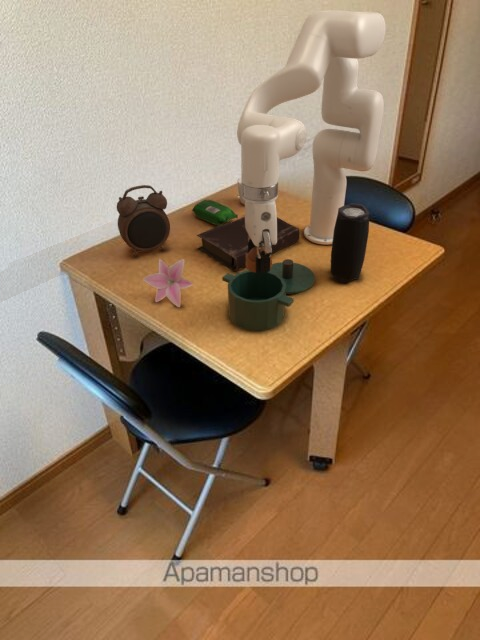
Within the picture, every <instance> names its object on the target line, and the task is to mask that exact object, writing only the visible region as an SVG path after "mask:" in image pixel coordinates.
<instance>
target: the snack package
mask: <svg viewBox="0 0 480 640" xmlns="http://www.w3.org/2000/svg"><path fill="white" fill-rule="evenodd" d="M191 211H192V212H193V214H194V215H195V216H196V217H197V218H198V219H201V220H203V221H206V222H208V223H210V224H212V225H215V226H216V227H218V226H221V225H224V224H227V223H229V222H231V220H234V219H239V217H238V216H239V215H238V214H236V213H235V211H234V210H233V209H232V208H231V207H229V206H227V205H225V204H222V203H220V202H218V201H215V200H213V199H208V198H207V199H204V200H202V201H199V202H198V203H196V204H194V206H193V208H192V209H191Z"/></svg>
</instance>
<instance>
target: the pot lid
mask: <svg viewBox="0 0 480 640" xmlns="http://www.w3.org/2000/svg"><path fill="white" fill-rule="evenodd" d="M270 272H273V273H276V274H278V275H279V276H280V277H281V278H283V279H284V281H285V284H286V295H287V294H288V295H291V294H292V295H293V294H294V295H295V294H299V293H303V292H305V291H307V290H309V289H310V288H312V287H313V285H314V284H315V281H316V277H315V276H316V275H315V273H314V272H313V270H312V269H310V268H309V267H308V266H306V265H303V264H300V263H298V262H294V260H293V259H290V258H289V259H287V258H286V259H284V260H282V261H280V262H275V263H272V267H271V269H270Z"/></svg>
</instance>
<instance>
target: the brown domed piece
mask: <svg viewBox="0 0 480 640" xmlns="http://www.w3.org/2000/svg"><path fill="white" fill-rule="evenodd" d="M263 250H264V247H260V251H263ZM272 255H273V254H271V257H270V269H271V267H272V264H273V256H272ZM256 257H257V247H254V248H252V249H251V250H250V252H249V253H248V254H247V255H246V267H245V268H246V269H247V270H249V271H251V272H255V273H256Z"/></svg>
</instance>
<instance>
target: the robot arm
mask: <svg viewBox="0 0 480 640" xmlns="http://www.w3.org/2000/svg"><path fill="white" fill-rule="evenodd" d="M386 28H387V26H386V20H385V18H384V16H383V15H382V14H381V13H380V12H376V11H359V10H358V11H356V10H344V9H327V10H317V11H314V12H311V13H310V14H309V15H308V16H307V17H306V19H304V22H303V24H302V26H301V28H300V31H299V33H298V35H297V37H296V40H295V42H294V44H293V47H292V49H291V51H290V53H289V56H288V58H287V61H286V63H285V65H284V67H283V68H282V69H280V70H278V71H276V72H275V73H274V74H272V75H271V76H269V77H268V78H266V79H265V80H264V81H263V82H262V83H260V84H259V85H258V86H257V87H256V88H255V89H254V90H253V91H252V93H251V94H250V95H249V97H248V99H247V101H246V104H245V106H244V108H243V110H242V112H241V115H240V118H239V121H238V124H237V129H236V136H237V137H236V138H237V141H238V143H239V145H240V159H241V161H240V163H241V165H240V167H241V168H240V169H241V177H242V198H243V199H244V200H245V205H244V217H245V227H246V230H247V232H248V241H250V242H248V253H249V252H250V250H251V249H252V248H254V247H257V257H256V273H264V272H269V271H270V257H271V255H272V254H271V253H272V248H271V243H272V245H273V244H274V245H276V243H277V217H278V215H277V203H276V200H277V199H278V197H279V172H280V171H279V170H280V161H282V160H285V159H288V158H292V157H293V156H296V155H298V153H300V152H301V150H302V149H303V147H304V146H305V143H306V140H307V129H306V126H305V124H304V123H303V122H302V121H301V120H299V119H297V118H294V117H289V116H283V115H276V114H268V113H269V112H270V111H271V110H272V109H274V108H276V107H277V106H279V105H281V104H285V103H287V102H290V101H294V100H297V99H301V98H303V97H306V96H308V95H311V94H313V93H315V92H317V90H319V88H320V87H321V85H322V84H323V85H322V95H321V113H320V114H321V119H322V121H323V122H324V123H326V124H328V125H331V126H336V127H342V128H343V127H344V128H349V129H357V130H358V131H359V132H356V131H355V132H354V131H349V130H344V129H336V128H324V129H322V130H320V131H318V132H317V133H316V135H315V136H314V138H313V141H312V148H311V149H312V151H311V152H312V159H313V181H312V191H311V192H312V194H311V204H310V206H311V207H310V218H309V219H310V220H309V225H306V227H305V228H304V229H303V235H304V237H305V238H306V239H307V241H309V242H312V243H314V244H317V245H324V246H325V245H328V246H329V245H332V241H333V234H334V227H335V223H336V219H337V214H338V208H340V207H342V206H345V202H346V201H345V200H346V194H347V193H346V191H347V183H348V182H347V181H348V180H347V175H346V172H345V170H344V169H346V170H352V171H356V172H357V171H358V172H368V171H370V170H371V169H372V168H373V167H374V165H375V162H376V159H377V156H378V150H379V144H380V138H381V131H382V124H383V119H384V110H385V109H384V108H385V101H384V97H383V95H382V93H380V91H378V90H375V89H370V88H368V89H367V88H360V87H359V86H358V81H359V71H360V64H359V59H360V60H361V59H365V58H369V57H373V56H375V55H376V54H377V53H378V52H379V51H380V49H381V47H382V45H383V44H384V40H385V37H386V33H387V32H386V31H387V29H386ZM322 82H323V83H322ZM241 177H240V178H241ZM262 241H263V243H262ZM270 241H271V243H270ZM260 247H264V250H263V251H260Z"/></svg>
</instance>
